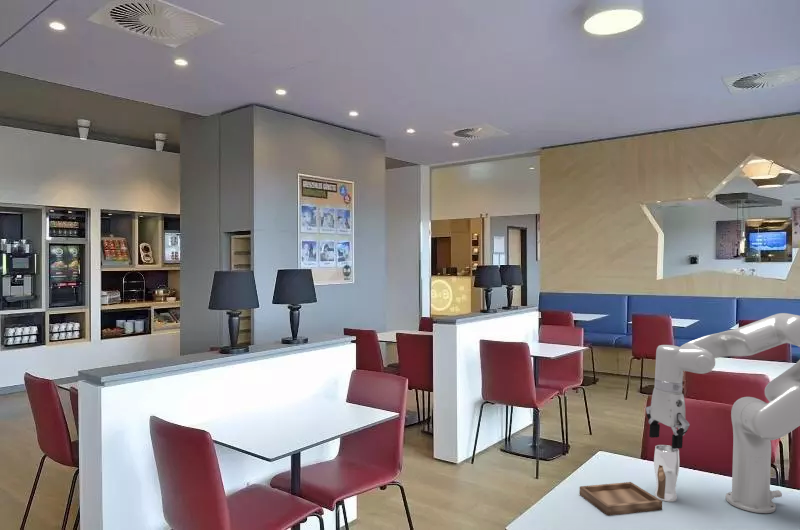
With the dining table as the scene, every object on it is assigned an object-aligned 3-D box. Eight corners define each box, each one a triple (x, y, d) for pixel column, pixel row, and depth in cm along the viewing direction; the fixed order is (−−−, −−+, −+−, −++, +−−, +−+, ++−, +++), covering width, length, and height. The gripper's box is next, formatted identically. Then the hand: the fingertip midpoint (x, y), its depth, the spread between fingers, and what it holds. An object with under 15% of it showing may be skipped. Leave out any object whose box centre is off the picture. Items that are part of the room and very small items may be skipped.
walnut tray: (630, 489, 173) (630, 481, 173) (662, 509, 159) (662, 501, 159) (579, 494, 168) (579, 486, 168) (607, 515, 155) (607, 506, 155)
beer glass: (655, 490, 173) (656, 443, 172) (680, 496, 168) (681, 447, 168) (650, 498, 167) (652, 448, 167) (676, 504, 163) (677, 454, 163)
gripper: (700, 393, 160) (697, 452, 160) (658, 379, 177) (656, 432, 177) (678, 393, 158) (675, 453, 158) (638, 380, 175) (635, 433, 175)
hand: (665, 442), depth 168 cm, fingers open, 9 cm apart
